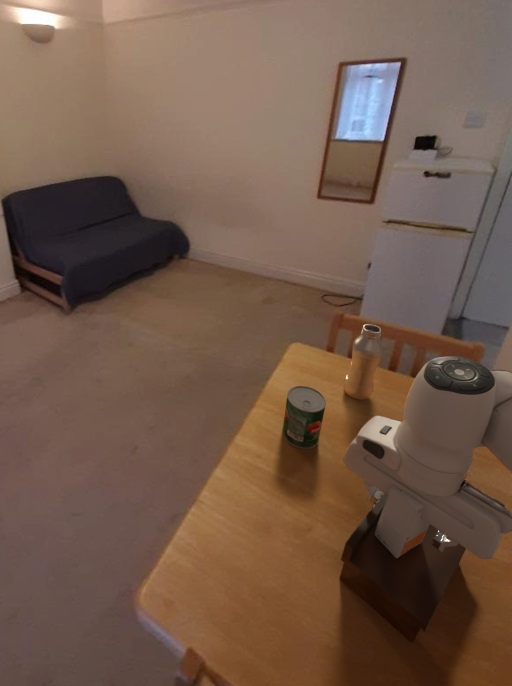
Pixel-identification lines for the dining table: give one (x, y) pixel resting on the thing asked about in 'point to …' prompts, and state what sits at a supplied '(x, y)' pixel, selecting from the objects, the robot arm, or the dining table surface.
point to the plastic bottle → (364, 363)
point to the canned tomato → (303, 416)
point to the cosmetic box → (401, 523)
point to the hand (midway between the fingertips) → (404, 521)
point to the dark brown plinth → (398, 575)
